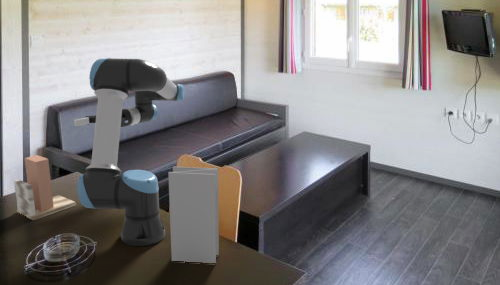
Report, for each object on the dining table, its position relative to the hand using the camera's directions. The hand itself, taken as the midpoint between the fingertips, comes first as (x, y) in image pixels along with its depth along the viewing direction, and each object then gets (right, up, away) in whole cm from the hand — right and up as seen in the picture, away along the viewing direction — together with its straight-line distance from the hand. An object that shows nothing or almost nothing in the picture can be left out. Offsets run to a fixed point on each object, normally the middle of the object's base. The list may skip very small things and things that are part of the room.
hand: (84, 125), depth 189 cm
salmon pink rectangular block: (-16, -32, -3) cm, 36 cm away
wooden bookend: (-15, -33, -1) cm, 36 cm away
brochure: (+49, -44, -37) cm, 75 cm away
